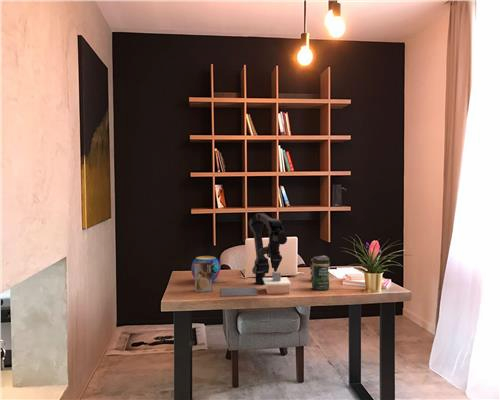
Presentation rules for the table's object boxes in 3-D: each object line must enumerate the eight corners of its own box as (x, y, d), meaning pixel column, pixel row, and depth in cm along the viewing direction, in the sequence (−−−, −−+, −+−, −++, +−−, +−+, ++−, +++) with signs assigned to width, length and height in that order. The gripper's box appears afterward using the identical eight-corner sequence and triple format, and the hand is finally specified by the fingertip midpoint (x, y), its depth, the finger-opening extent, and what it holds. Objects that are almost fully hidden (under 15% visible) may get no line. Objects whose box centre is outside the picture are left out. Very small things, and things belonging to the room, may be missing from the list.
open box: (264, 288, 240) (264, 279, 240) (285, 288, 241) (285, 279, 241) (267, 294, 228) (267, 285, 228) (289, 293, 229) (289, 284, 229)
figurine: (331, 281, 256) (331, 257, 256) (313, 282, 254) (313, 258, 253) (325, 278, 265) (325, 254, 265) (308, 279, 263) (308, 255, 262)
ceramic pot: (192, 286, 247) (192, 260, 246) (190, 279, 264) (190, 255, 264) (221, 284, 250) (221, 259, 250) (218, 277, 268) (218, 254, 267)
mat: (220, 288, 241) (220, 287, 241) (255, 287, 242) (255, 287, 242) (220, 296, 224) (220, 295, 224) (258, 295, 225) (258, 294, 225)
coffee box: (210, 288, 241) (210, 260, 241) (212, 291, 235) (212, 262, 235) (194, 289, 239) (194, 261, 238) (196, 292, 233) (196, 263, 232)
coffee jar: (314, 291, 235) (314, 257, 234) (310, 287, 242) (310, 255, 242) (331, 290, 236) (331, 257, 235) (326, 286, 244) (326, 255, 243)
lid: (262, 279, 241) (262, 270, 241) (286, 279, 242) (286, 269, 242) (265, 285, 227) (265, 275, 227) (291, 285, 228) (291, 274, 228)
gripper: (257, 239, 242) (258, 266, 243) (261, 244, 224) (261, 273, 225) (277, 239, 243) (277, 266, 244) (282, 244, 225) (282, 273, 226)
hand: (274, 269), depth 235 cm, fingers open, 9 cm apart
